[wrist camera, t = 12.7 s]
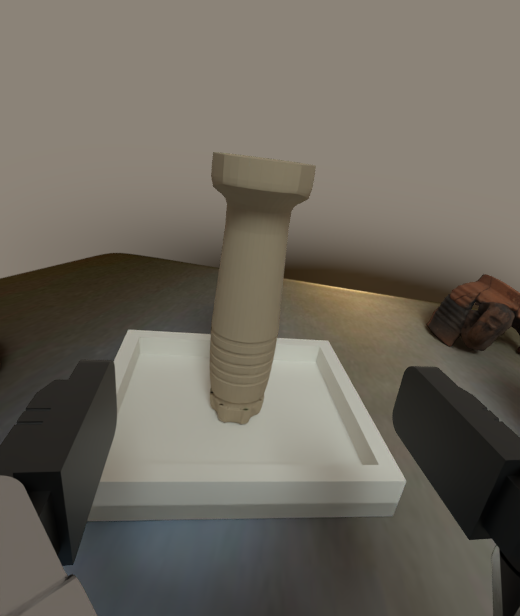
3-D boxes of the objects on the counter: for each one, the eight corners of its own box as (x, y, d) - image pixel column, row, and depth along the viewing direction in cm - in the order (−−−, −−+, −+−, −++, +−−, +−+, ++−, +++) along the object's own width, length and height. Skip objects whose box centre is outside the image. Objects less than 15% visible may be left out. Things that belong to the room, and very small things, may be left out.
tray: (63, 521, 17) (57, 482, 16) (129, 357, 29) (128, 329, 28) (392, 516, 19) (406, 481, 18) (322, 366, 32) (328, 340, 31)
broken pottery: (418, 317, 46) (469, 266, 44) (481, 370, 44) (538, 320, 42) (425, 330, 35) (494, 263, 33) (510, 402, 33) (589, 336, 31)
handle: (186, 441, 21) (203, 152, 15) (206, 377, 27) (223, 152, 21) (272, 451, 21) (322, 167, 15) (273, 385, 27) (308, 163, 21)
